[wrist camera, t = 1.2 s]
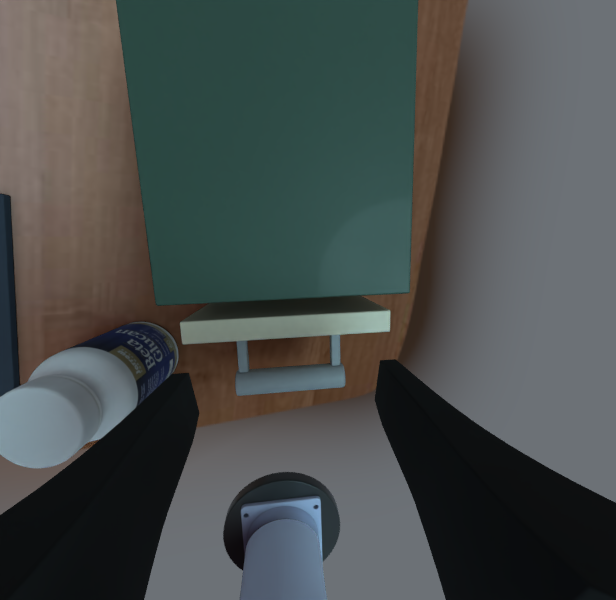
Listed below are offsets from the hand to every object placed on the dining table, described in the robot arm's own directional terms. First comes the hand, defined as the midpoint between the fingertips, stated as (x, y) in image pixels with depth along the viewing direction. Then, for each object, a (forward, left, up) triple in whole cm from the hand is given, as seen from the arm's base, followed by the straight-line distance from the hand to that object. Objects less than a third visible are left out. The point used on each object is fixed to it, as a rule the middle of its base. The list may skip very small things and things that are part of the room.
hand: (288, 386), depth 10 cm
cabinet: (+10, 0, -12) cm, 15 cm away
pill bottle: (-2, +11, -12) cm, 17 cm away
